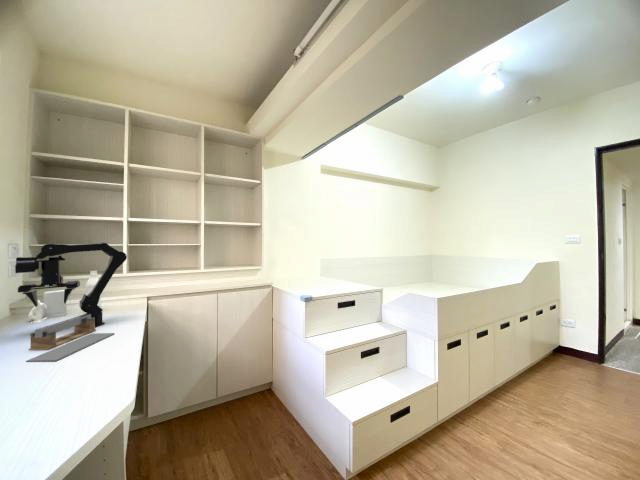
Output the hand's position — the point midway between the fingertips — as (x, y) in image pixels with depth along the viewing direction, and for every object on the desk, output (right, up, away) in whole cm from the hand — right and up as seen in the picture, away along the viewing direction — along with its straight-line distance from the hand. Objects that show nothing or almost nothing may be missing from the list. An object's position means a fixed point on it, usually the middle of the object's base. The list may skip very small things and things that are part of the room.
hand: (51, 304), depth 114 cm
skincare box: (-25, -14, +25) cm, 38 cm away
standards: (+14, -13, -8) cm, 21 cm away
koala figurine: (-25, -14, +16) cm, 33 cm away
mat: (+26, -13, -15) cm, 32 cm away
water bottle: (-11, -14, +34) cm, 38 cm away
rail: (+14, -8, -8) cm, 18 cm away
